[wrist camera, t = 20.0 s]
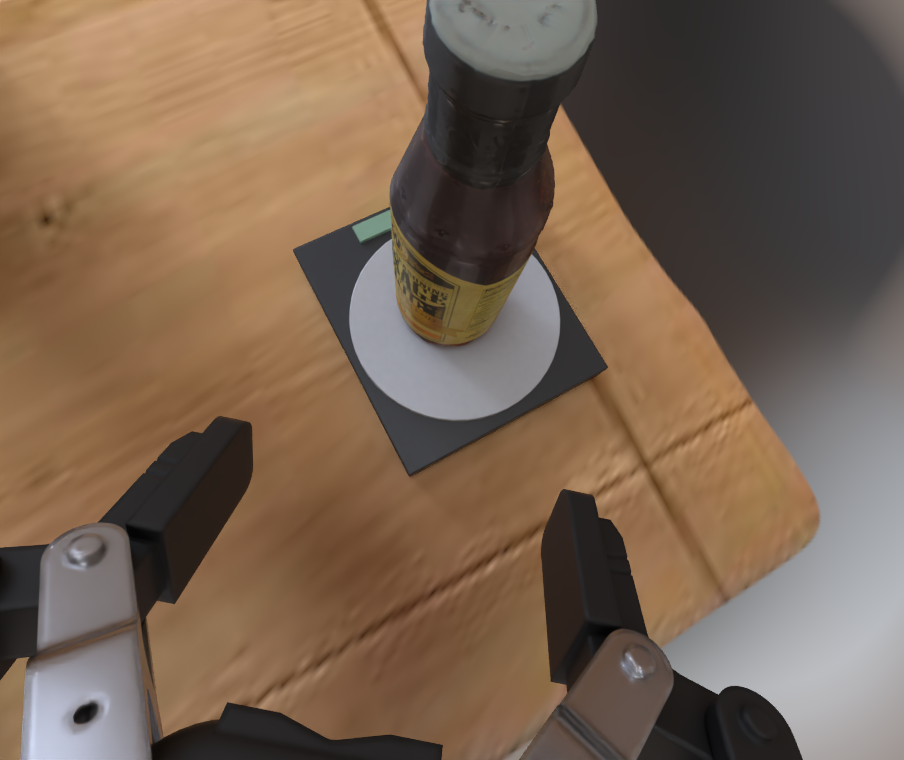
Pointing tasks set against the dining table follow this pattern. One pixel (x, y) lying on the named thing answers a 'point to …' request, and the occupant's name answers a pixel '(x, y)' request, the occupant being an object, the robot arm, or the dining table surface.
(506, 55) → the sauce bottle
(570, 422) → the dining table surface
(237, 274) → the dining table surface
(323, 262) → the kitchen scale
